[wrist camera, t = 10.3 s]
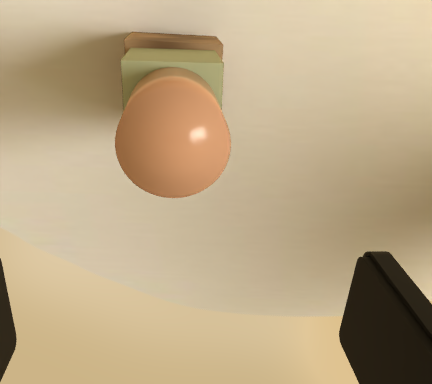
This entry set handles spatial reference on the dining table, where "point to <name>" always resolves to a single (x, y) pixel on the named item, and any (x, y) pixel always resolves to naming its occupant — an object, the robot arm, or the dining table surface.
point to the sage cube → (160, 58)
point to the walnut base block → (172, 42)
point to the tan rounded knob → (172, 134)
